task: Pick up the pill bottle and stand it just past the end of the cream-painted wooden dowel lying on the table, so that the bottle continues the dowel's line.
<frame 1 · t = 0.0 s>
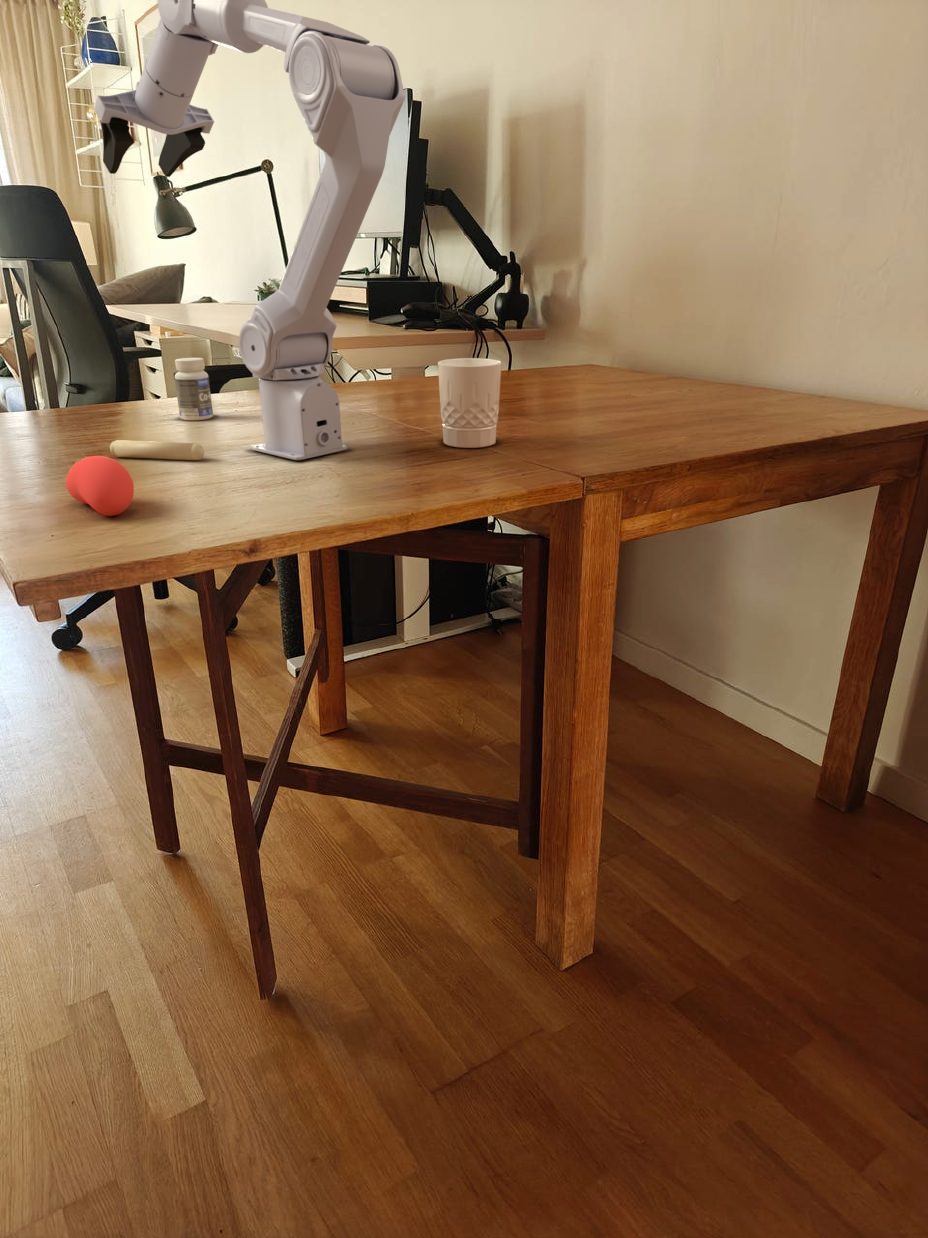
hand: (137, 168, 107), 32 cm above the table, tool tilted 50°, fingers open, 7 cm apart
white cup: (469, 444, 107), on the table
stress ball: (105, 510, 81), on the table
pill bottle: (197, 419, 123), on the table
dowel: (158, 458, 100), on the table
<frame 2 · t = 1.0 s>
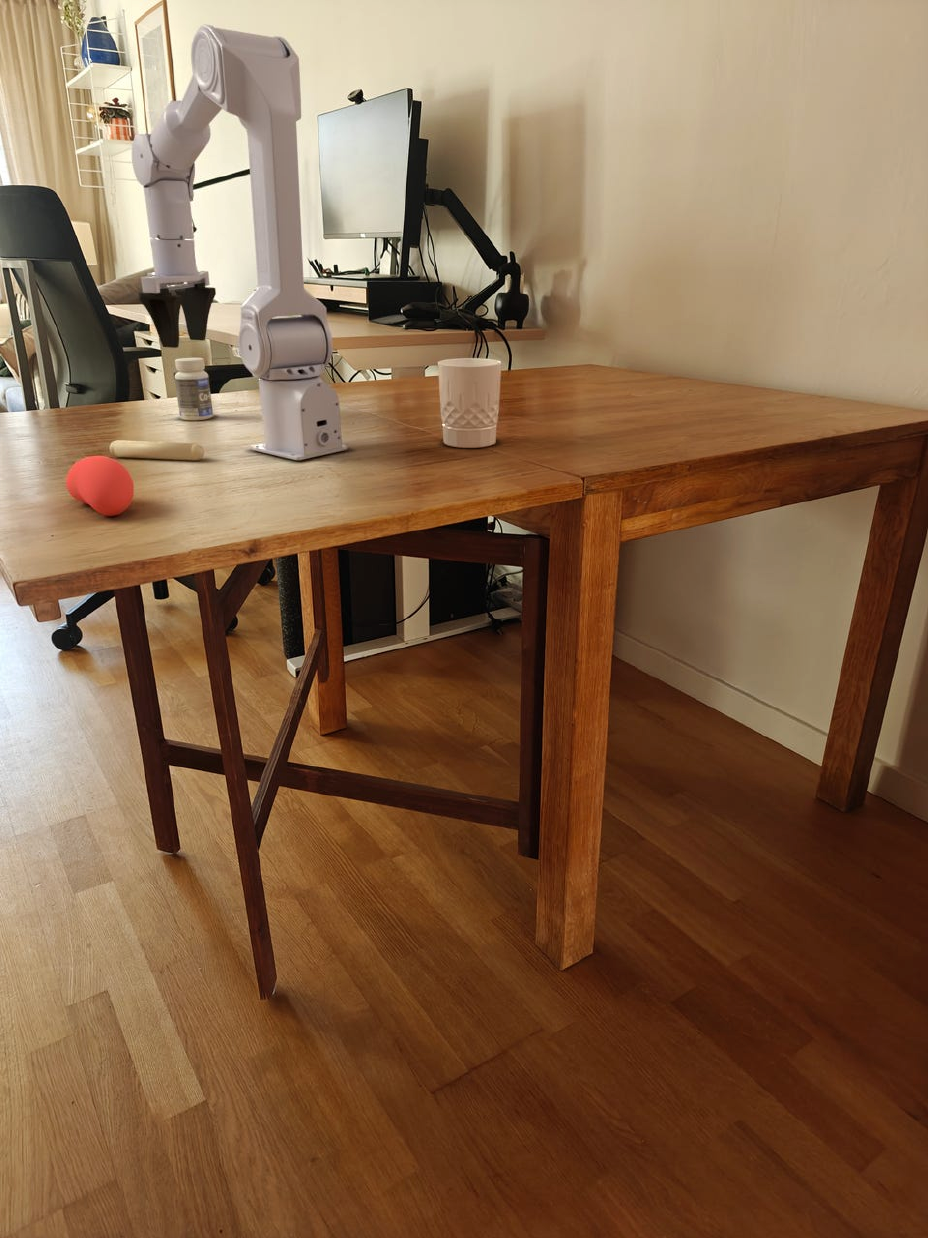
hand: (184, 343, 119), 11 cm above the table, tool pointing down, fingers open, 7 cm apart
nothing on the table moved.
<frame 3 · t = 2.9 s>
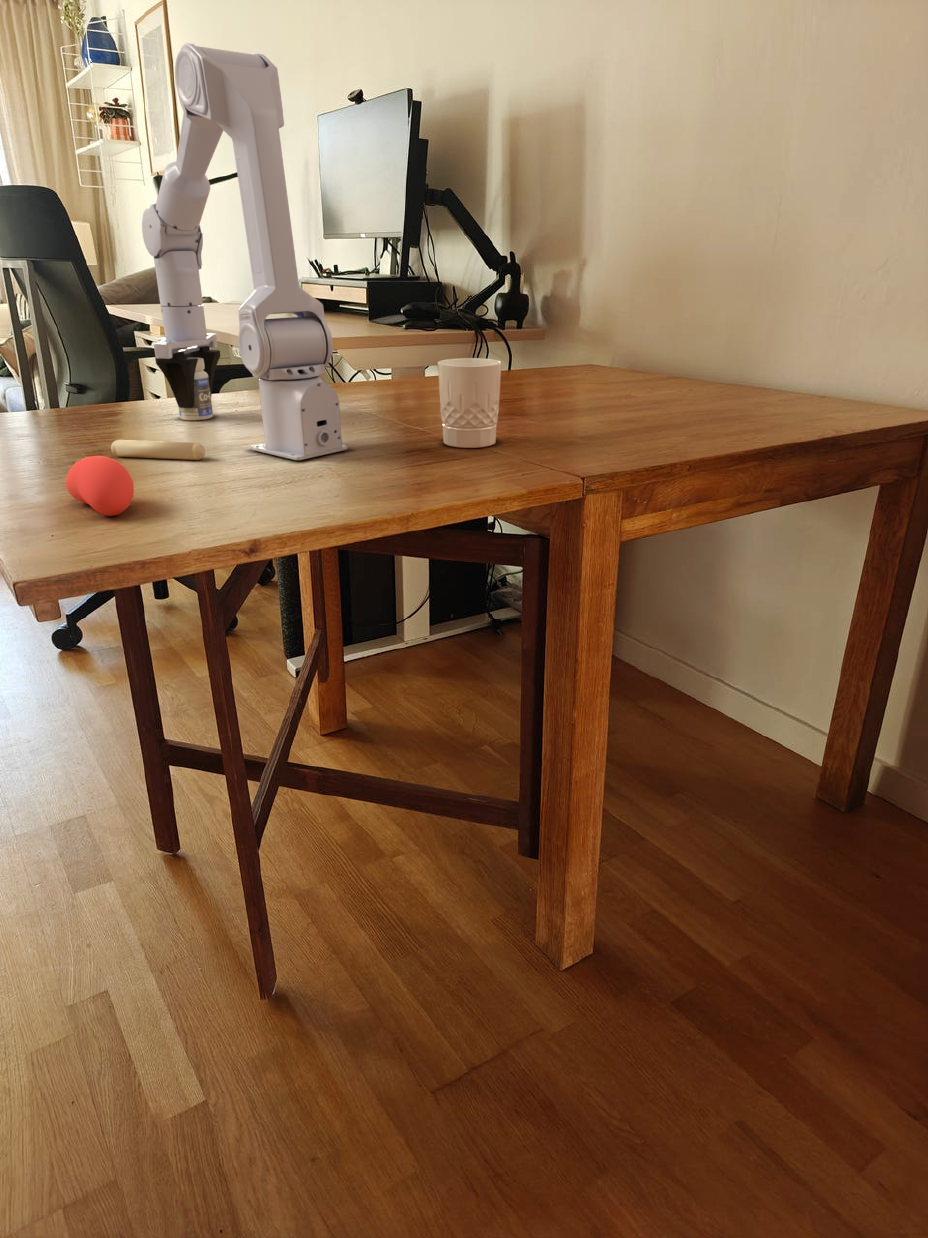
hand: (195, 404, 122), 2 cm above the table, tool pointing down, fingers closed on pill bottle, 5 cm apart
pill bottle: (197, 419, 123), on the table, touching gripper
dowel: (158, 458, 100), on the table, tilted 14°
everything else where it was.
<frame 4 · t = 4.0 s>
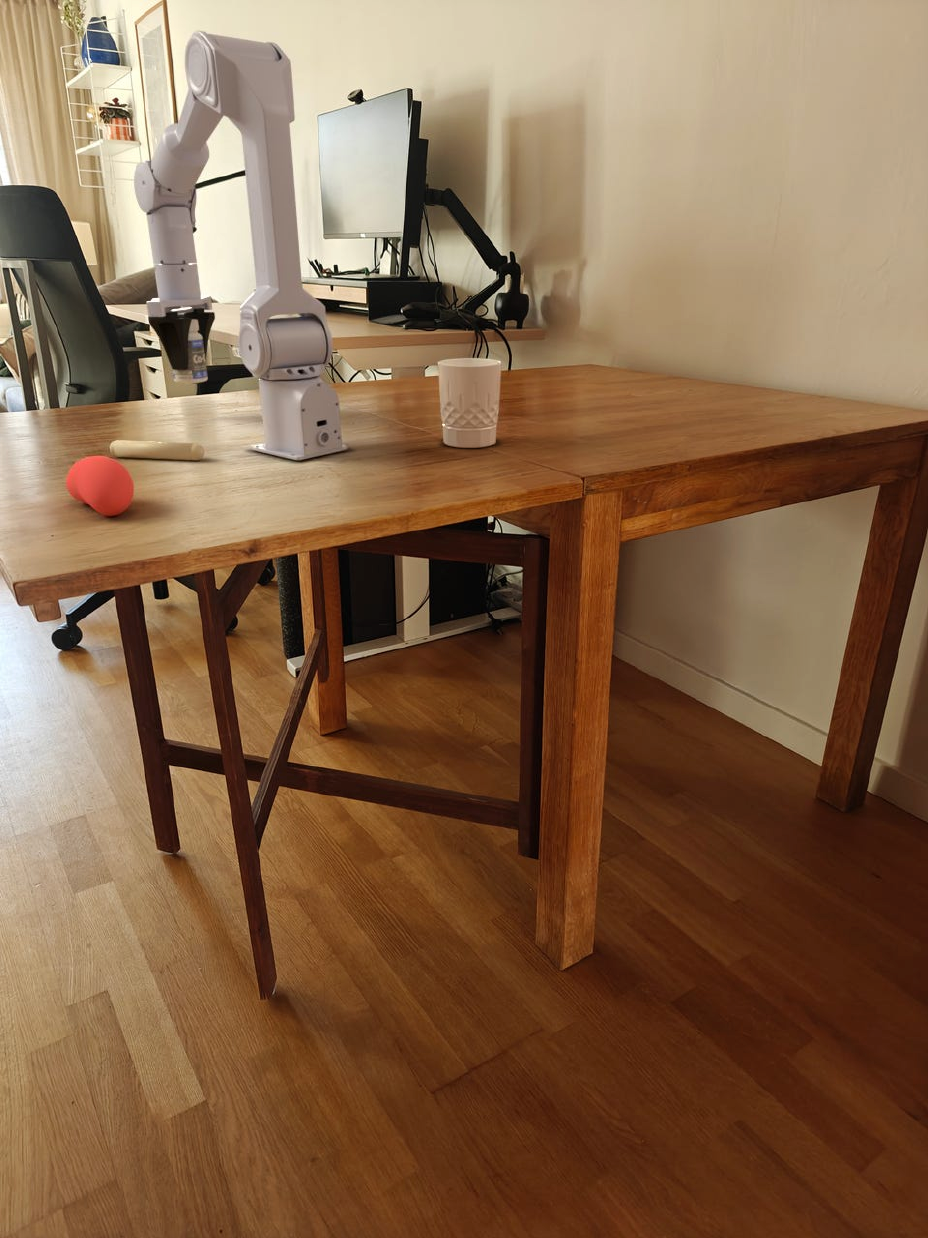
hand: (189, 366, 120), 7 cm above the table, tool pointing down, fingers closed on pill bottle, 5 cm apart
pill bottle: (191, 382, 121), point 5 cm above the table, touching gripper
dowel: (158, 458, 100), on the table
everything else where it was.
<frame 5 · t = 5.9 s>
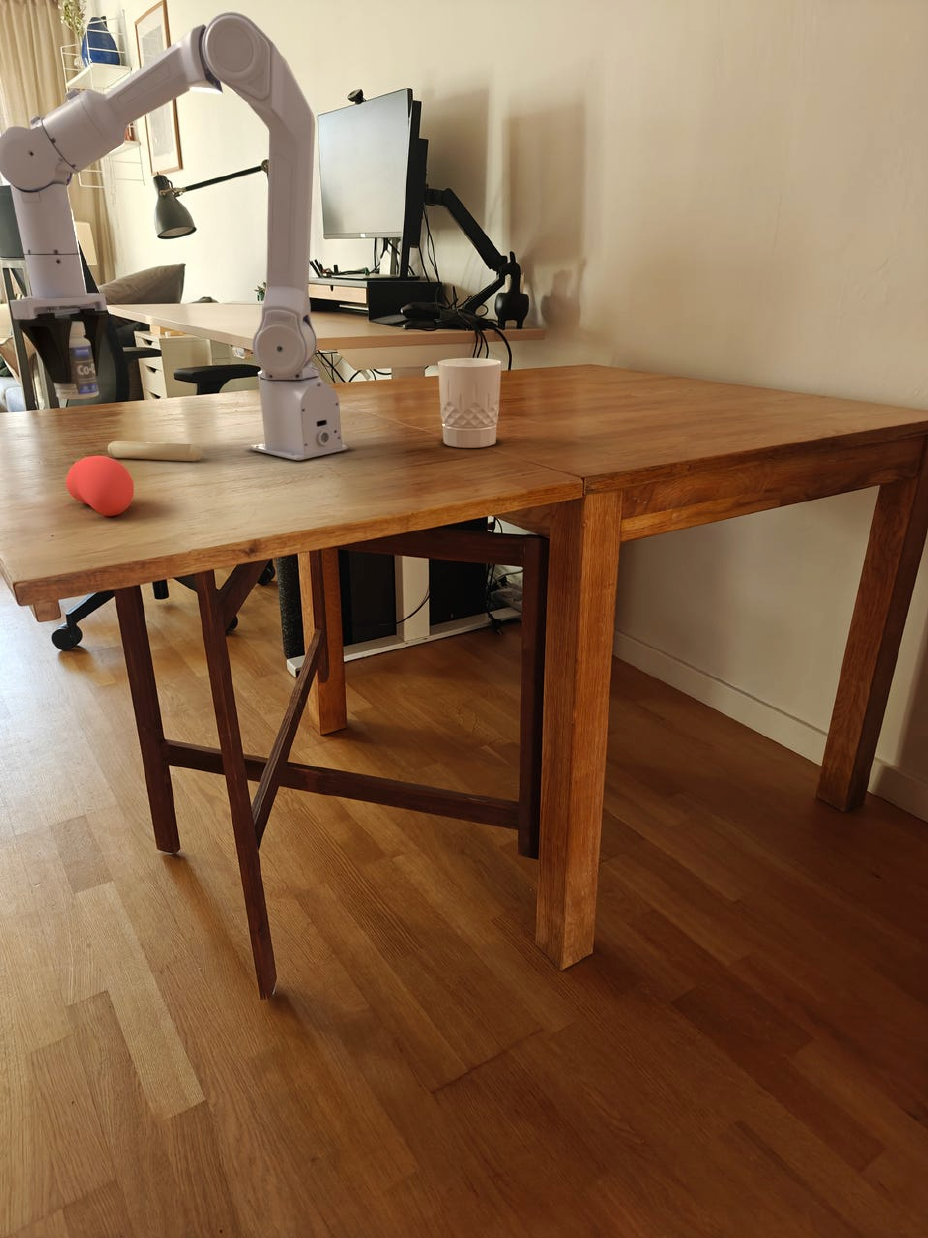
hand: (75, 379, 99), 9 cm above the table, tool pointing down, fingers closed on pill bottle, 5 cm apart
pill bottle: (78, 398, 100), point 7 cm above the table, touching gripper
dowel: (158, 457, 100), on the table, tilted 26°
everything else where it was.
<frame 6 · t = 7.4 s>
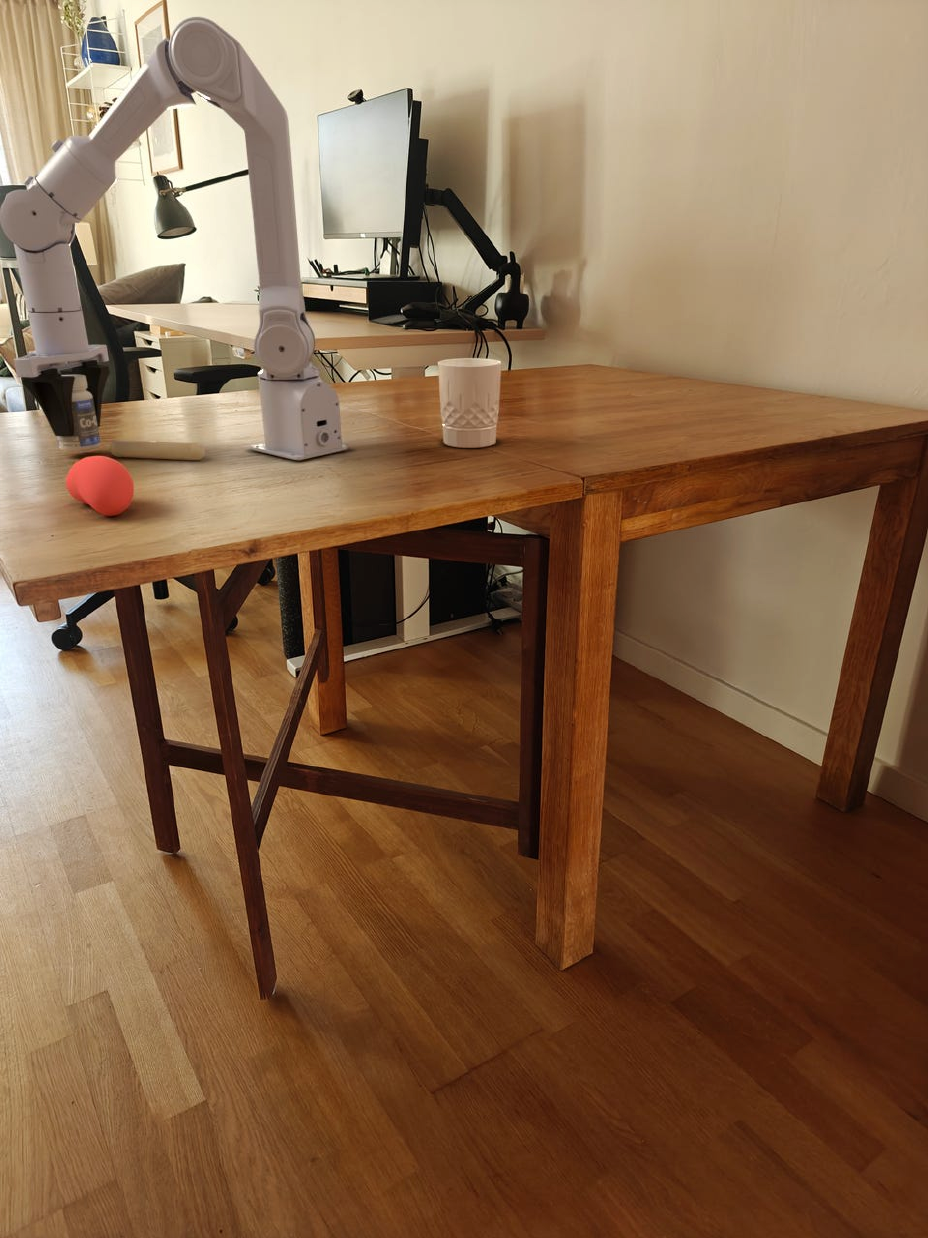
hand: (78, 431, 100), 3 cm above the table, tool pointing down, fingers closed on pill bottle, 5 cm apart
pill bottle: (81, 449, 101), point 1 cm above the table, touching gripper
dowel: (158, 458, 100), on the table
everything else where it was.
when the fingers open (2 cm above the table, at t = 8.1 s): pill bottle stays where it is, on the table.
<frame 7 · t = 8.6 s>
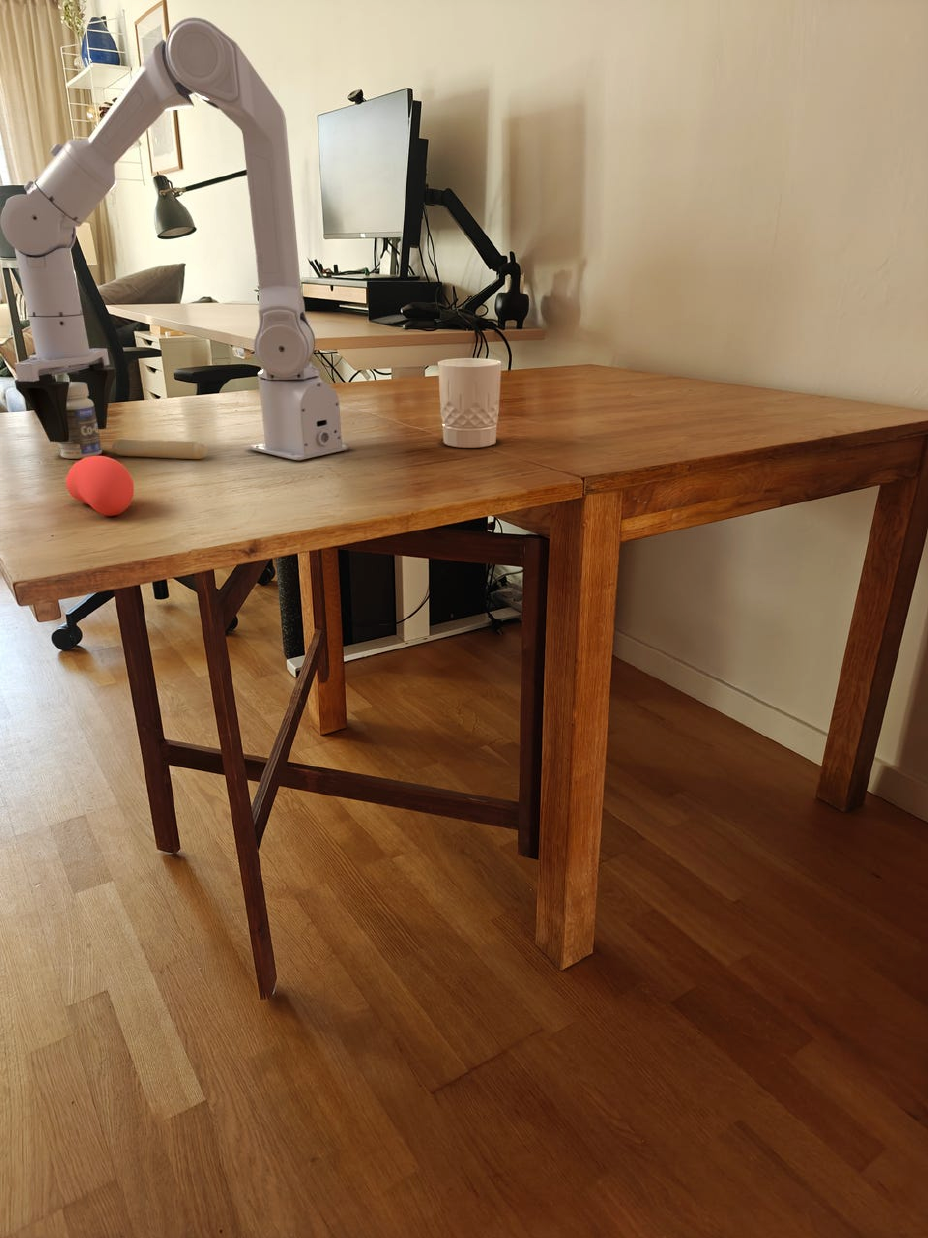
hand: (79, 434, 100), 2 cm above the table, tool pointing down, fingers open, 7 cm apart
pill bottle: (82, 456, 102), on the table
dowel: (158, 456, 100), on the table, tilted 35°
everything else where it was.
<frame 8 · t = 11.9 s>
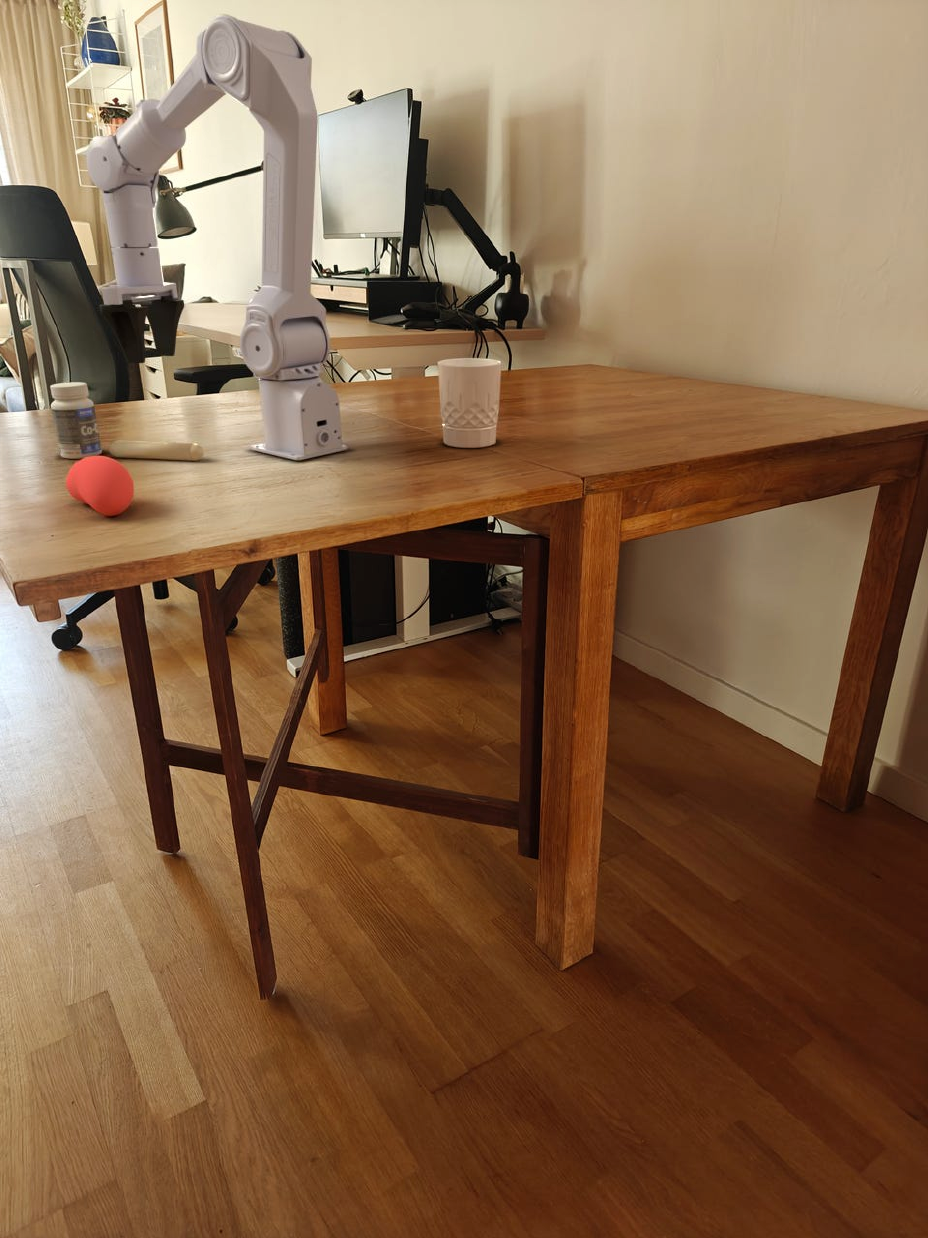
hand: (151, 359, 111), 9 cm above the table, tool pointing down, fingers open, 7 cm apart
dowel: (158, 458, 100), on the table, tilted 9°
everything else where it was.
at the end: pill bottle 0.1 cm from the target spot on the table beside the dowel, on the table; pill bottle tilted 0°; the gripper is holding nothing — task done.
